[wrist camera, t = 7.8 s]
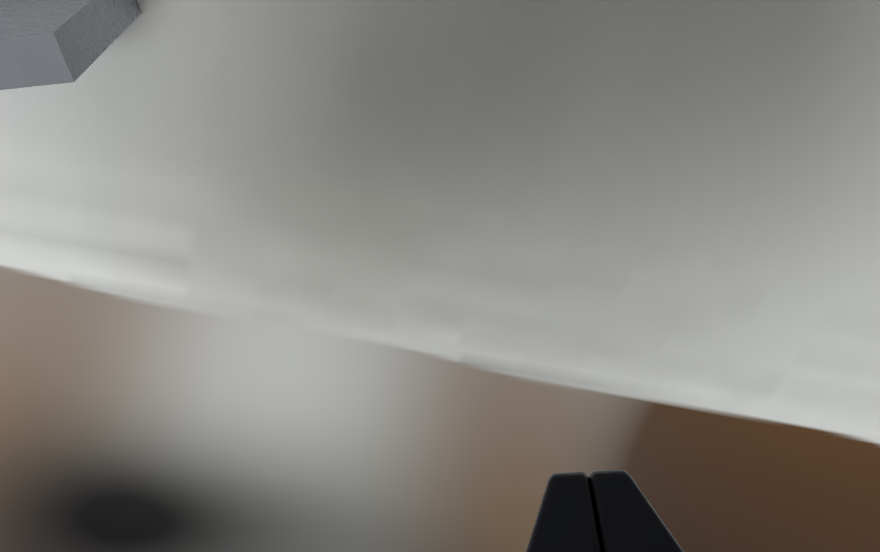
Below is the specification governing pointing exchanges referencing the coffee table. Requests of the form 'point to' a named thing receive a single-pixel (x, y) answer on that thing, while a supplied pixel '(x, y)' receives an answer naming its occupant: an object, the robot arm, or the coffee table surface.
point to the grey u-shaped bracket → (57, 38)
